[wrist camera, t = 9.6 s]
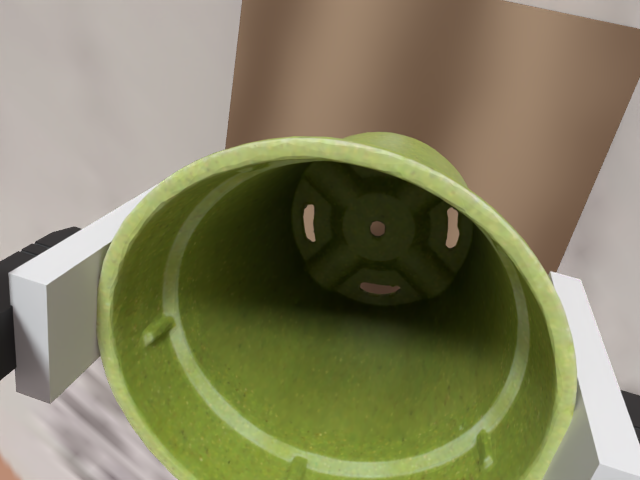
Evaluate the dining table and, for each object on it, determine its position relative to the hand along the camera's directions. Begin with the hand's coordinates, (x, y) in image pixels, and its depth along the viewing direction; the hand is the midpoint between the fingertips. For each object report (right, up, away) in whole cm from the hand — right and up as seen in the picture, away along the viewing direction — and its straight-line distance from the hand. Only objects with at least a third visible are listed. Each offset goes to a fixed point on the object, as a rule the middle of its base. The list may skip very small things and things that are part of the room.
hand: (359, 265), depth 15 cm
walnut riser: (+2, +4, +9) cm, 11 cm away
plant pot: (+1, +1, +3) cm, 4 cm away
